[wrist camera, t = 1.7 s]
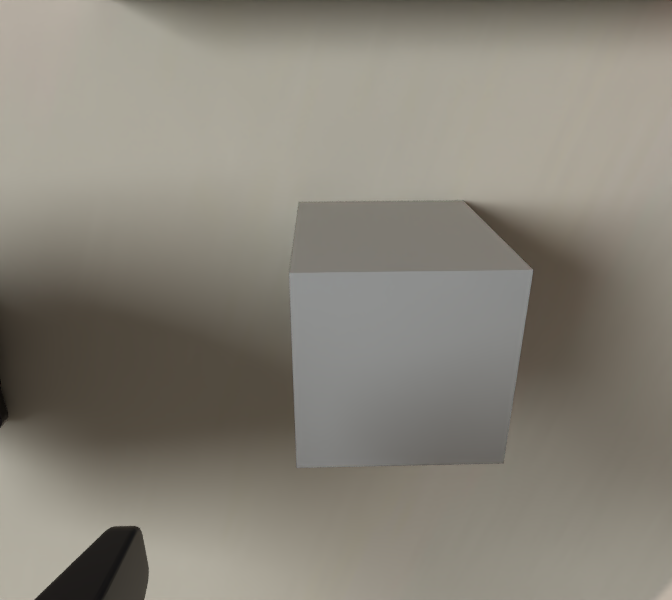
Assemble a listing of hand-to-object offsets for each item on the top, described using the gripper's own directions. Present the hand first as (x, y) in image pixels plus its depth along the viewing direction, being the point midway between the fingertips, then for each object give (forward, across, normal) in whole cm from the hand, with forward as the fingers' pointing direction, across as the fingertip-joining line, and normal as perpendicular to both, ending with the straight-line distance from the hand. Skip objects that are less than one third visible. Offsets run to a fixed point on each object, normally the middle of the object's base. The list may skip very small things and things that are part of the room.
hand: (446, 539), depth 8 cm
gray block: (+10, 0, 0) cm, 11 cm away
